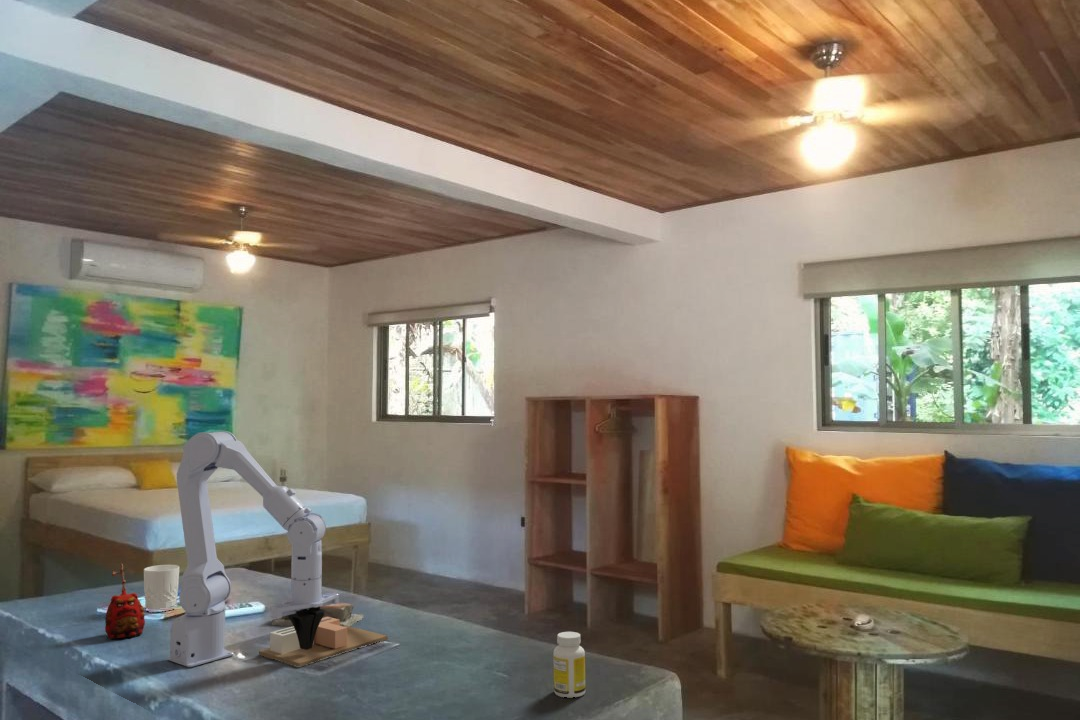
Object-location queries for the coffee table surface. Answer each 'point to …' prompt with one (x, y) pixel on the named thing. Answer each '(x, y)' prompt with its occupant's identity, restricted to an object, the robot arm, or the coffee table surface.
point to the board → (326, 648)
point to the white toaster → (284, 640)
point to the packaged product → (329, 615)
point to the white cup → (161, 586)
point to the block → (331, 633)
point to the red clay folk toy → (124, 614)
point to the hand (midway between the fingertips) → (305, 648)
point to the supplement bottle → (569, 666)
